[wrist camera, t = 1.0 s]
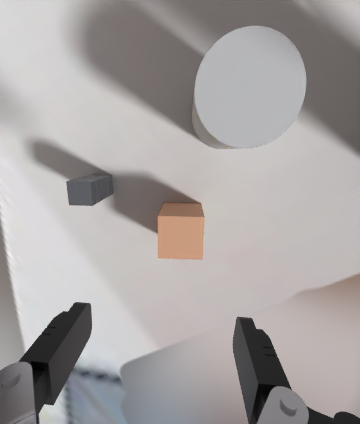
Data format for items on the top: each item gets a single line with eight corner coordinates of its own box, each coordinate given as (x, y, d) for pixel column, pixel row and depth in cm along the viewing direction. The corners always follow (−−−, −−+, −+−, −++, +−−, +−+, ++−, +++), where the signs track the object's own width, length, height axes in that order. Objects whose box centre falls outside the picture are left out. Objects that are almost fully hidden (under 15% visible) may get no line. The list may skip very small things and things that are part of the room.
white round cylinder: (185, 88, 27) (183, 43, 16) (251, 71, 27) (301, 10, 15) (198, 155, 29) (205, 158, 18) (260, 141, 29) (310, 134, 17)
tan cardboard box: (200, 203, 31) (204, 217, 25) (199, 238, 32) (202, 259, 26) (163, 202, 31) (157, 215, 25) (163, 237, 33) (158, 258, 26)
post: (111, 174, 30) (90, 181, 24) (113, 193, 31) (92, 205, 24) (93, 174, 30) (66, 181, 24) (94, 193, 31) (69, 205, 24)
